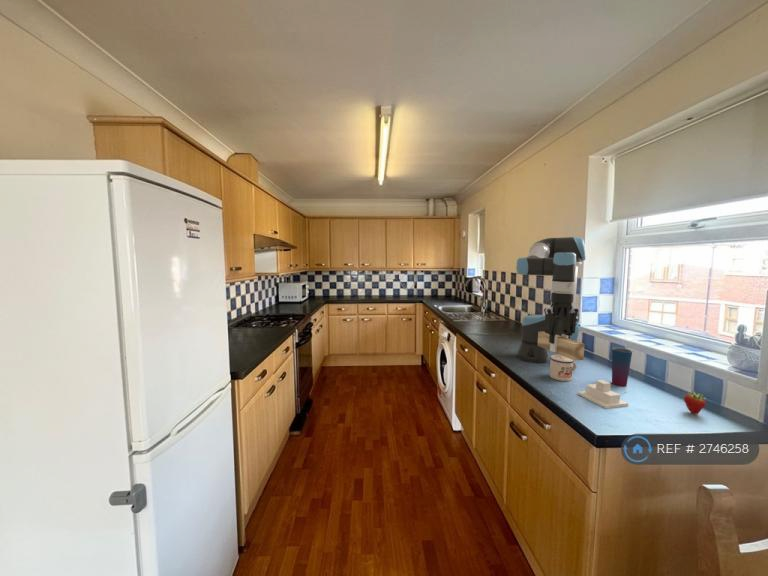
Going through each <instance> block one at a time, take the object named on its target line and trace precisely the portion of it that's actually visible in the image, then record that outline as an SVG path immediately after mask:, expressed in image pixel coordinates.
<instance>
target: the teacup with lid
mask: <svg viewBox="0 0 768 576" xmlns="http://www.w3.org/2000/svg"><path fill="white" fill-rule="evenodd" d="M549 365H550V366H549V376H550V378H551V379H554V380H555V381H560V382H570V381H572V379H573V372H575V370H576V369H577V363H576V362H575V360H571V359H569V358H567V357H564V356H562V355H559V354H557V353H556V354H552V355H550V364H549Z"/></svg>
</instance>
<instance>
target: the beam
mask: <svg viewBox="0 0 768 576" xmlns="http://www.w3.org/2000/svg"><path fill="white" fill-rule="evenodd" d="M556 336H557V351H556V352H553V353H555V354H556V355H557V354H559V355H562V356H564V357H567V358H569V359H571V360H573V361H584V357H585V356H584V355H585V345H586V344H585V343H583V342H581V341H578V340H577V341H574V340H571V339H568V338H565V337H562V336H559V335H556ZM538 346H540V347H542V348H545V349H546V351H550V343H549V334H547V333H545V332H538ZM550 352H551V351H550Z"/></svg>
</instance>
